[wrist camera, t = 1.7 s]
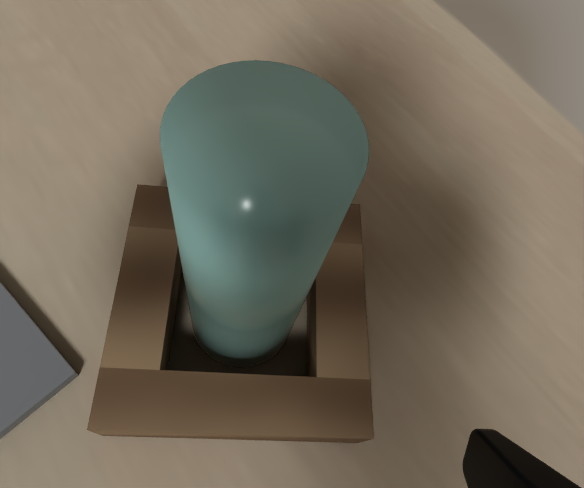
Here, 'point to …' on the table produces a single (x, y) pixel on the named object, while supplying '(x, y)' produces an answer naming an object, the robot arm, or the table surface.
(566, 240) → the table surface
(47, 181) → the table surface
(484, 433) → the robot arm
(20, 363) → the coaster
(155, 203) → the pocket block
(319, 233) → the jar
